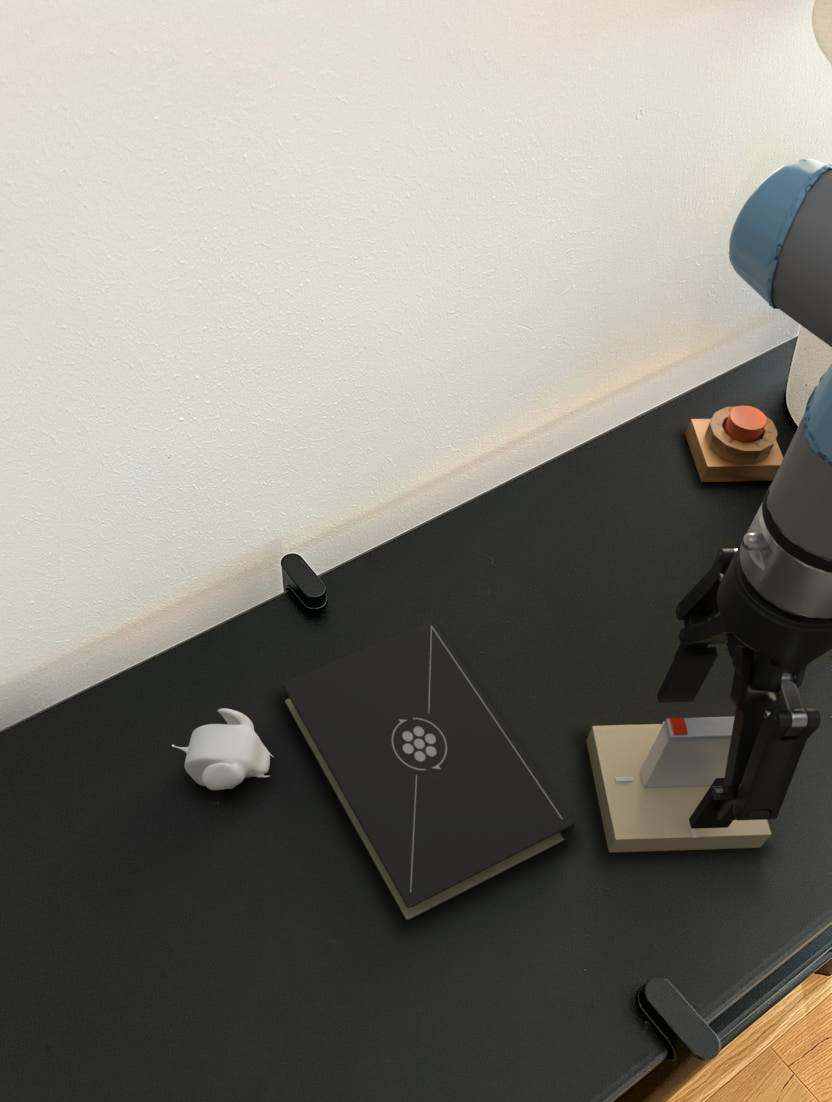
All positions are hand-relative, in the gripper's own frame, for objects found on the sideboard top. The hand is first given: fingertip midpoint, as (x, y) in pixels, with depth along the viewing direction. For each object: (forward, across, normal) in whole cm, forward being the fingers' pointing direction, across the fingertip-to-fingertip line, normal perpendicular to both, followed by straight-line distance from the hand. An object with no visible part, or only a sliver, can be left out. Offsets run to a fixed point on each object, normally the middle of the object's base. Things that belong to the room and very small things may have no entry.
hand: (690, 758), depth 75 cm
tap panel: (+6, 0, 0) cm, 6 cm away
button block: (+6, -38, +15) cm, 41 cm away
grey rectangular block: (+3, 0, 0) cm, 3 cm away
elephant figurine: (+6, -3, -36) cm, 37 cm away
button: (+2, -38, +15) cm, 41 cm away
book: (+6, -3, -20) cm, 21 cm away
